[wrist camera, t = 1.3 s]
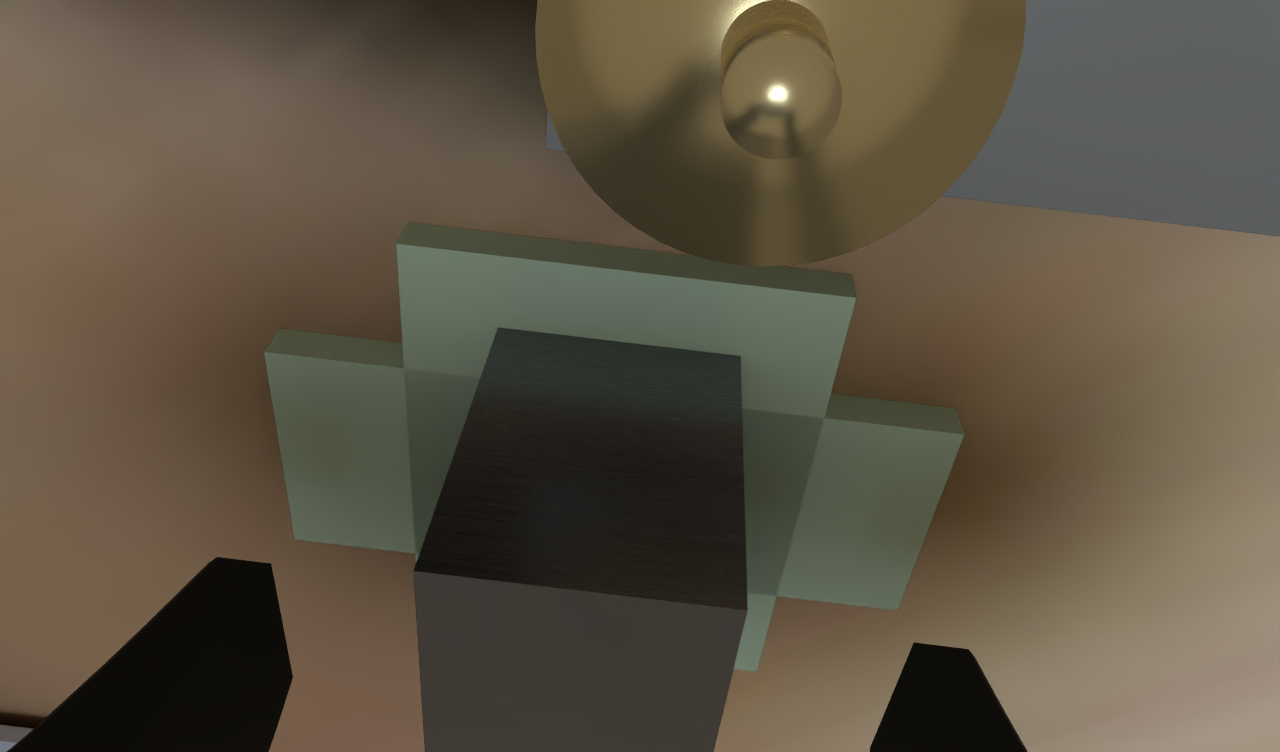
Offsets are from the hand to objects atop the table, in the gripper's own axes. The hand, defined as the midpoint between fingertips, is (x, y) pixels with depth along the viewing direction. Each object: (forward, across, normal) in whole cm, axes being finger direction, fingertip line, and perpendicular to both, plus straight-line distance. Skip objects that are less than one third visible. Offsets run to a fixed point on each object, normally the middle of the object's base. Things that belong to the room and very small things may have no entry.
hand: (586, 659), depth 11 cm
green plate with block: (+4, 0, 0) cm, 4 cm away
